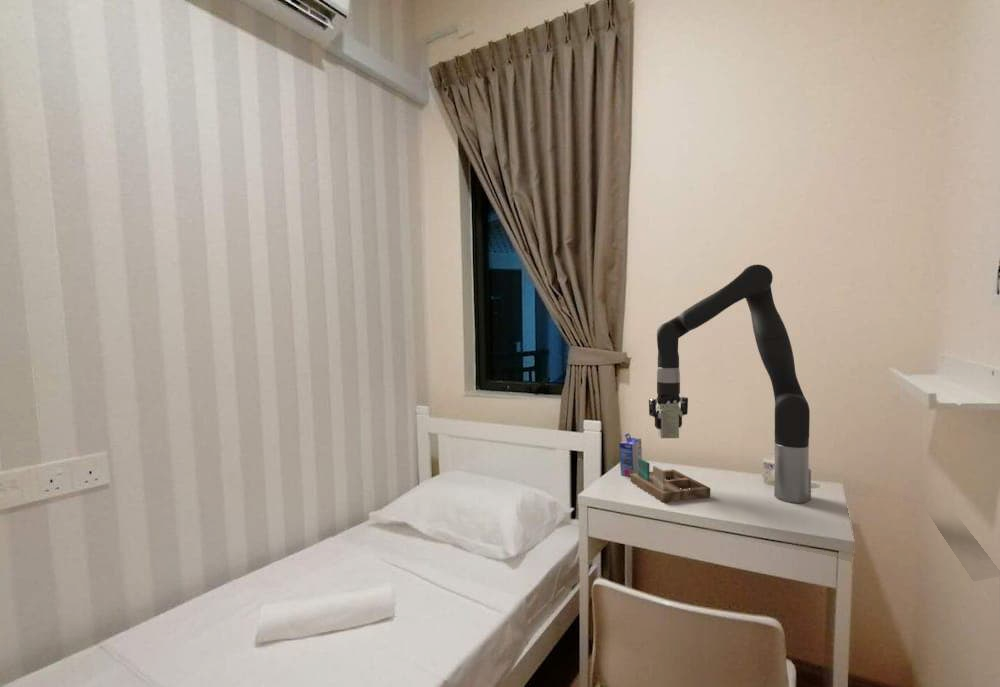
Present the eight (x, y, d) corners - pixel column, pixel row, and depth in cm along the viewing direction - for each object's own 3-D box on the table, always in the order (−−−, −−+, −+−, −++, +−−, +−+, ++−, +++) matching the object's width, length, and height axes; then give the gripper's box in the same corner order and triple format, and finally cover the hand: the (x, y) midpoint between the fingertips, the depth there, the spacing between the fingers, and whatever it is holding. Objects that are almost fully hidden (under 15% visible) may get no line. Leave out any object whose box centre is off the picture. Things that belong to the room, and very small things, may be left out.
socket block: (673, 477, 176) (673, 452, 176) (710, 497, 157) (710, 469, 156) (630, 482, 172) (630, 456, 172) (663, 502, 153) (663, 474, 152)
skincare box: (676, 435, 171) (675, 401, 170) (679, 438, 166) (679, 403, 166) (657, 435, 171) (657, 401, 171) (660, 438, 167) (660, 403, 166)
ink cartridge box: (628, 468, 189) (628, 431, 188) (642, 470, 186) (642, 432, 185) (619, 474, 181) (618, 436, 180) (633, 477, 178) (633, 438, 177)
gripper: (655, 382, 163) (655, 431, 163) (693, 380, 166) (693, 428, 167) (643, 380, 170) (644, 427, 171) (680, 378, 173) (680, 424, 174)
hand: (668, 427), depth 169 cm, fingers closed on skincare box, 7 cm apart
